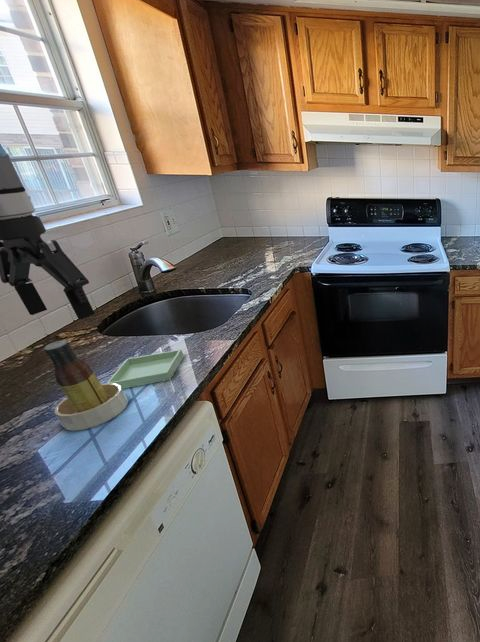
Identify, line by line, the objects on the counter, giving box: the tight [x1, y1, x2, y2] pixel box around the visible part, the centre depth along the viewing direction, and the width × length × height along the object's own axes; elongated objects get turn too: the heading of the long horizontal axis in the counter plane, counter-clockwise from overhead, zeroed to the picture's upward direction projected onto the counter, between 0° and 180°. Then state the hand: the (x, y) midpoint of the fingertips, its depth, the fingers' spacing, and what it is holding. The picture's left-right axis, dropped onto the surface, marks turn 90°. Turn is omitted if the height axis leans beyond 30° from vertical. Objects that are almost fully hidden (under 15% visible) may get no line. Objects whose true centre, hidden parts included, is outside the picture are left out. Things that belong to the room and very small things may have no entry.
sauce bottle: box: [43, 339, 110, 413], centre depth 87 cm, size 6×6×20 cm
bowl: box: [54, 382, 129, 432], centre depth 90 cm, size 12×12×4 cm
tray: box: [106, 348, 185, 390], centre depth 106 cm, size 14×13×2 cm
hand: (62, 314), depth 79 cm, fingers open, 13 cm apart
